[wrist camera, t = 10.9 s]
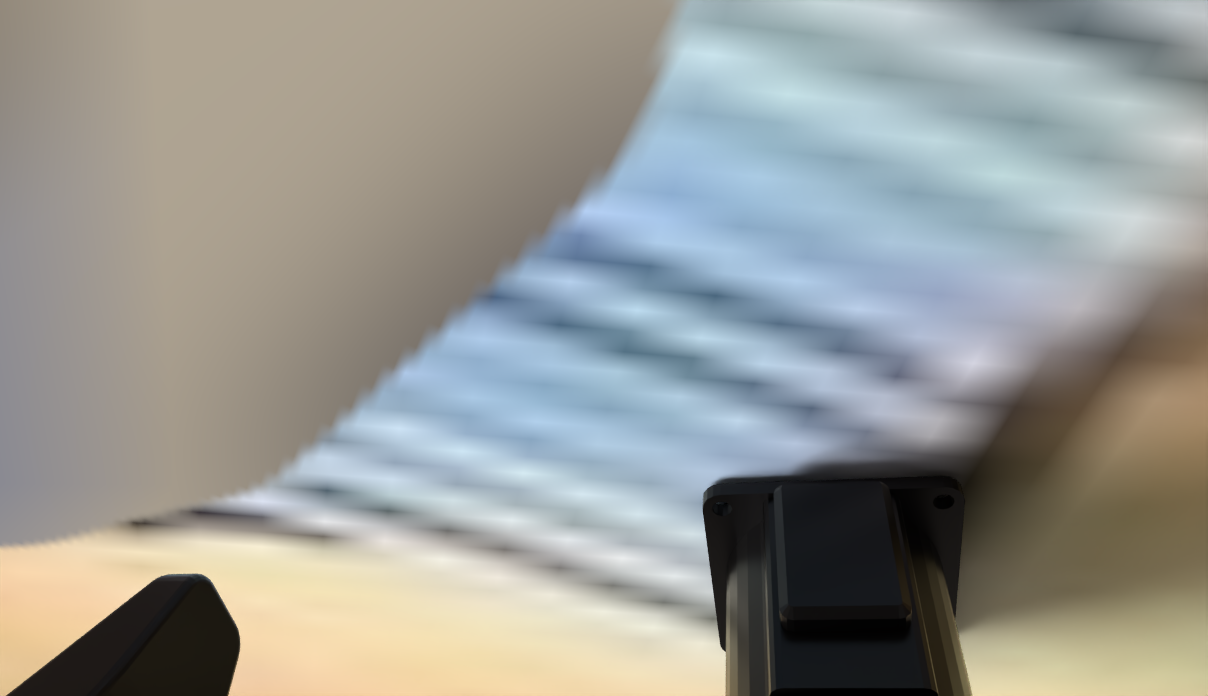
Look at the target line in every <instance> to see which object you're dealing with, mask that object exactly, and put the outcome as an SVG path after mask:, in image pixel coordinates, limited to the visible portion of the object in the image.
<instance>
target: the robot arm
mask: <svg viewBox="0 0 1208 696" xmlns="http://www.w3.org/2000/svg"><path fill="white" fill-rule="evenodd" d="M943 494H945V495H948V496H947V497H944V498H936V497H937V496H939V495H943ZM717 502H726V503H728V504H726V505H719V504H716V503H717ZM964 505H965V500H964V495H963V492H962V488H961V484H960V483H959V482H958V481H957V480H956V479H953V478H951V477H946V476H930V477H903V478H875V479H847V480H819V481H792V482H764V483H736V484H718V485H713V486H711V487H709V488H708V489H707V490H706V491H705V492H704V496H703V516H704V524H705V531H706V539H707V547H708V554H709V562H710V569H711V577H712V585H713V592H714V600H715V608H716V615H717V623H718V630H719V638H720V645H721V647H722V649H723V650H724V651H725V652H726V696H972V692H971V687H970V683H969V679H968V674H967V670H966V666H965V661H964V657H963V653H962V649H961V644H960V640H959V636H958V631H957V627H956V623H955V615H956V603H957V590H958V578H959V566H960V554H961V542H962V529H963V517H964ZM239 652H240V635H239V631H238V628H237V626H236V624H235V622H234V620H233V618H232V617H231V615H230V613H229V611H228V610H227V608H226V606H225V604H224V602H223V601H222V599H221V597H220V595H219V594H218V592H217V590H216V588H215V587H214V585H213V583H212V582H211V580H210V579H208V578H207V577H206V576H204V575H202V574H169V575H164V576H161V577H159V578H157V579H155V580H154V581H152V582H151V583H150V584H148V585H147V586H146V587H144V588H143V589H142V590H141V591H139V592H138V593H137V594H136V595H134V596H133V597H132V598H130V599H129V600H128V601H127V602H125V603H124V604H123V605H121V606H120V607H119V608H118V609H116V610H115V611H114V612H113V613H111V614H110V615H109V616H107V617H106V618H105V619H104V620H102V621H101V622H100V623H98V624H97V625H96V626H95V627H93V628H92V629H91V630H89V631H88V632H87V633H86V634H84V635H83V636H82V637H81V638H79V639H78V640H77V641H75V642H74V643H73V644H72V645H70V646H69V647H68V648H66V649H65V650H64V651H63V652H61V653H60V654H59V655H58V656H56V657H55V658H54V659H52V660H51V661H50V662H49V663H47V664H46V665H45V666H43V667H42V668H41V669H40V670H38V671H37V672H36V673H35V674H33V675H32V676H31V677H29V678H28V679H27V680H26V681H24V682H23V683H22V684H20V685H19V686H18V687H17V688H15V689H14V690H13V691H12V692H10V693H9V694H8V695H6V696H228V694H229V691H230V687H231V683H232V679H233V676H234V672H235V668H236V665H237V661H238V657H239Z"/></svg>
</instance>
